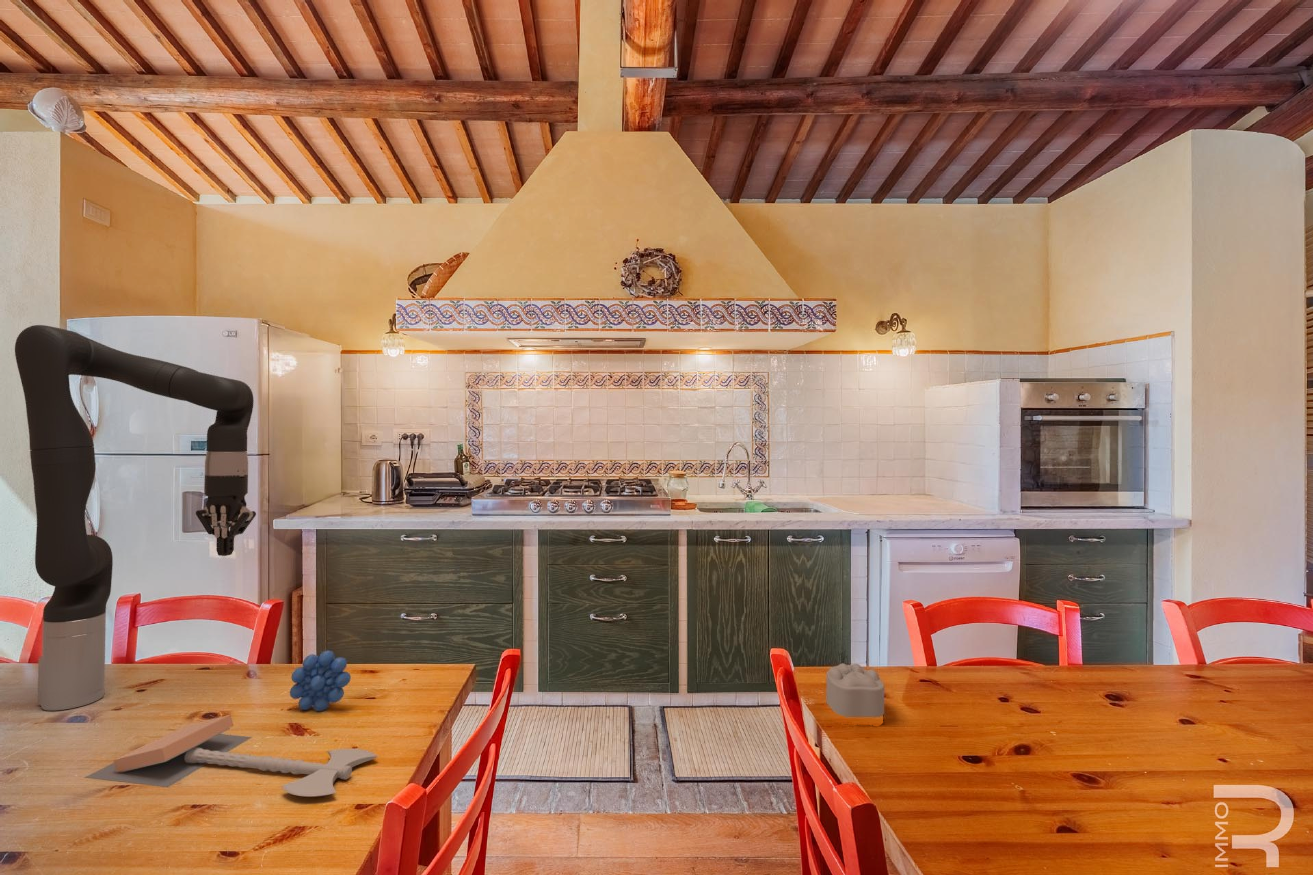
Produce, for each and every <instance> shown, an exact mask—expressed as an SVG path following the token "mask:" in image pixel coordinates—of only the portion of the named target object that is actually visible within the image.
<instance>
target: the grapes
mask: <svg viewBox="0 0 1313 875" xmlns="http://www.w3.org/2000/svg"><path fill="white" fill-rule="evenodd" d="M347 665H348V660H347V659H346V658H345V657H343V656H340V657H336V658H335V653H334V652H333V651H332V650H324V651H322V652H321V653H320V655H319V656H318V655H317V654H315V653H314V654H309V655H306V657H305V658H304V659H303V660H302V666H300V667H298V668H296V669H294V670H293V672H292V673H291V680H292V681H291V682H293V683H294V685H292V686H291V688H290V689H289V690H290V691H289V696H290V697H291V698H292V699H294V700H299V701H298V708H299V709H300V710H302V711H308V710H309V709H311V708H313V709H314V711H316V712H323V711H325V710H327V709H328V708H329V706H330V703H333V704H334V703H335V704H336V703H338V702H340V701H341V700H342V698H343V697H344V694H345V691H344V687H346V686H348V685H349V683H350V681H351V677H352V676H351V674H350V672H348V671H345V669H346V668H347Z"/></svg>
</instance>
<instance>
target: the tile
mask: <svg viewBox="0 0 1313 875" xmlns="http://www.w3.org/2000/svg"><path fill="white" fill-rule="evenodd" d="M232 727H234V723H233V719H232V715H231V714H228V715H223V716H220V717H216V718H212V719H208V720H204V721H201V722H200V721H199V722H197V723H191V724H188V725H185V726H183V727H180V728H178V729H176V730H175V731H172V732H170V733H168V734H166V735H163V736H162V737H159V738H157V739H156V740H153V741H151V742H149V743H147V744H144V745H142V746H141V747H138V748H136V749H134V750H132V751H129V752H128V753H126V754H123V755H122V756H120V757H118V758H115V759H113V763H114V765H115V769H116V773H117V772H125V771H129V770H133V769H137V768H142V767H146V766H150V765H154V764H158V763H162V762H166V761H168V760H170V759H172V758H174V757H176V756H178V755H180V754H182V753H184V752H186V751H188V750H190V749H192V748H194V747H196V746H197V745H199V744H201V743H203V742H205V741H207V740H209V739H211V738H213V737H215V736H217V735H219V734H224V733H225V732H227V731H228V730H230V728H232Z"/></svg>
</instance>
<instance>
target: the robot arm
mask: <svg viewBox="0 0 1313 875" xmlns="http://www.w3.org/2000/svg"><path fill="white" fill-rule="evenodd" d="M14 356H15V361H16V365H17V366H16V367H17V370H18V373H19V378H20V382H21V386H22V391H23V396H24V401H25V402H24V403H25V410H26V419H27V427H28V435H29V436H28V437H29V450H30V451H29V455H30V465H31V466H30V467H31V472H32V473H31V474H32V479H33V492H34V493H33V494H34V503H35V509H36V511H35V512H36V513H35V514H36V531H35V532H36V533H35V551H34V552H35V553H34V565H35V566H34V567H35V571H36V573H37V574H38V576H39V578H40V579H41V580H42V581H43V582H45V583H46V584H47V585H50V586H52V587H54V590H53V593H52V595H51V597H50V599H49V600H48V601H47V603H46V604H45V605H44V607H43V610H42V654H41V656H39V658H38V665H37V666H38V667H37V668H38V670H37V672H38V673H37V674H38V675H37V676H38V677H37V706H41V707H40V708H41V709H42V710H44V711H62V710H70V709H75V708H79V707H83V706H86V705H89V704H92V703H94V702H96V701H100V699H101V698H103V697H104V696H105V677H106V676H105V675H106V672H105V671H106V630H107V628H106V625H107V624H106V620H107V618H106V617H107V603H108V600H109V599H110V596H111V592H112V582H113V581H112V578H113V565H114V562H113V551H112V548H111V546H110V545H109V543H108V542H107V541H106V540H105V539H103V538H102V537H100V536H97V535H96V534H95V535H94V534H88V533H87V527H86V526H87V525H86V508H87V504H88V500H89V496H90V494H91V492H92V487H93V483H94V480H95V478H96V477H95V476H96V470H97V468H96V466H97V464H96V452H95V442H94V439H93V435H92V433H91V431H90V429H89V427H88V425H87V423H86V422H85V420H84V418H83V416H82V415H81V414H80V412H79V410H78V409H77V407H76V405H75V403H74V400H73V397H72V394H71V387H70V386H71V385H70V375H71V376H73V375H74V376H85V377H94V378H100V379H101V378H102V379H106V380H107V379H108V380H111V381H116V382H119V383H122V384H125V385H128V386H131V387H133V388H136V389H139V390H141V391H144V392H147V393H151V394H154V395H158V396H161V397H165V398H169V399H174V400H178V401H184V402H188V403H191V404H194V405H196V406H199V407H202V408H206V409H209V410H213V411H216V414H215V415H216V416H215V421H214V423H213V424H211V425H209V427H208V428H207V431H206V455H205V460H204V485H203V486H204V489H203V492H204V496H205V497H207V500H206V502H205V507H203V508H202V509H199V510H198V509H197V510H196V511H195V515H196V517H197V519H198V520H199V522H200V523H201V525H202V526H203V528H204V530H205V531H206V533H207V534H208V535H212V536H214V537H215V538H216V549H215V551H216V553H217V555H218V556H220V557H221V556H222V557H223V556H224V557H227V556H231V555H232V554H233V552H234V549H235V547H234V546H235V545H234V544H235V537H236V536H238V535H242V534H244V532H245V531H246V530H247V528H248V527H249V525H250V524H251V523H252V521H253V520H254V518H256V516H257V512H256V511H255V510H253V511H251V510H250V509H249V508H248V507H247V501H246V498H245V497H246V495H247V494H248V493H249V492H248V491H249V459H248V429H249V426H250V423H251V418H252V414H253V409H254V402H255V401H254V394H253V393H254V392H253V391H252V388H251V387H250V386H249V384H247V383H246V382H244V381H241V380H238V379H233V378H229V377H223V376H218V375H213V374H209V373H205V372H200V371H198V370H197V369H196V370H195V369H193V368H190V367H187V366H183V365H179V364H176V363H173V362H168V361H164V360H160V359H155V358H150V357H145V356H141V355H136V354H132V353H128V352H124V351H121V350H119V349H115V348H112V347H110V346H107V345H105V344H103V343H100V342H97V340H93V339H92V338H89V337H87V336H84V335H82V334H80V333H78V332H76V331H74V330H69V329H63V328H60V327H55V326H50V325H45V324H44V325H43V324H35V325H30V326H28V327H25V328H24V329H23V330H22V331H21V332H20V333H19V334H18V335H17V337H16V340H15V344H14Z"/></svg>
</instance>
